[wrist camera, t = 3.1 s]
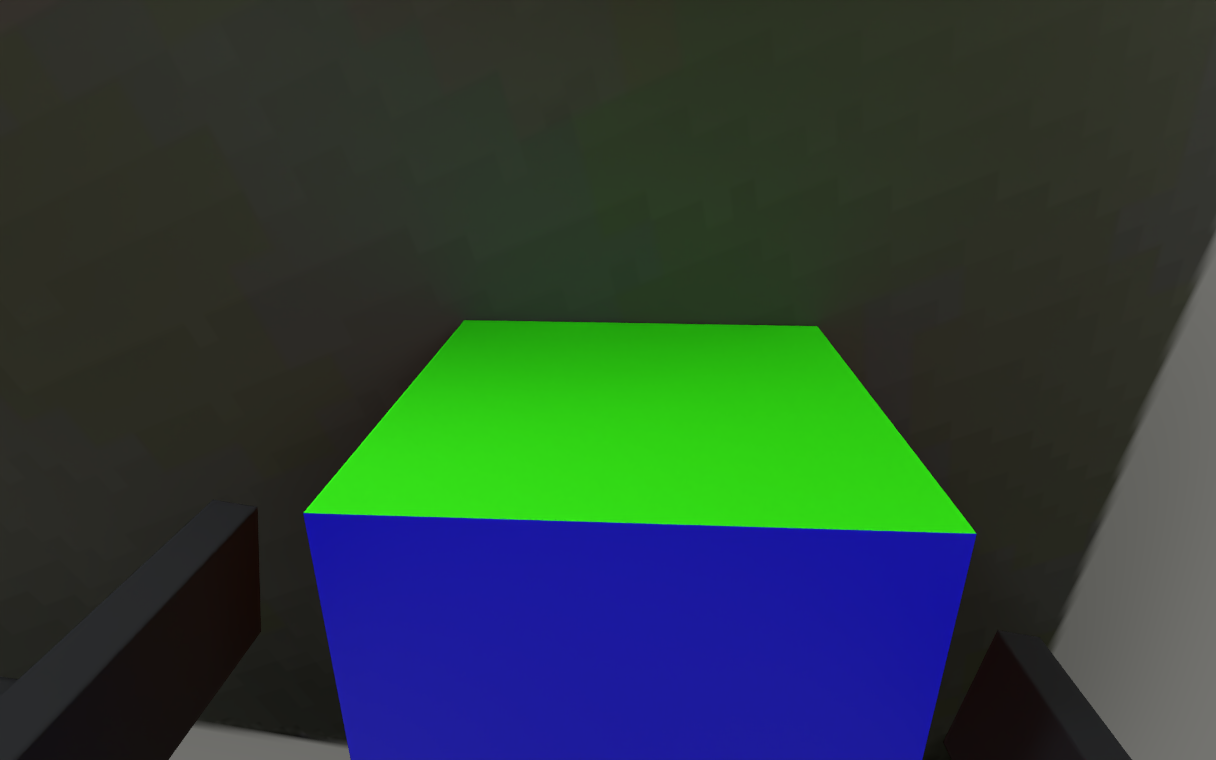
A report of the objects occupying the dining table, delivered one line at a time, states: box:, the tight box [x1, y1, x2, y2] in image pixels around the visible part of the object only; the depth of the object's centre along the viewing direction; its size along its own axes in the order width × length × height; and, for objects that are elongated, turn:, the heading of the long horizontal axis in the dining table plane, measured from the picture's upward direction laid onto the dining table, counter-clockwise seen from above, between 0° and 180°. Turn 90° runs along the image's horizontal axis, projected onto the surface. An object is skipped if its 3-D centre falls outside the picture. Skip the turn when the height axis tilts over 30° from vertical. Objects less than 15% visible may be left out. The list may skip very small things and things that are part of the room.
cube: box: [303, 320, 976, 760], centre depth 13 cm, size 8×8×8 cm
